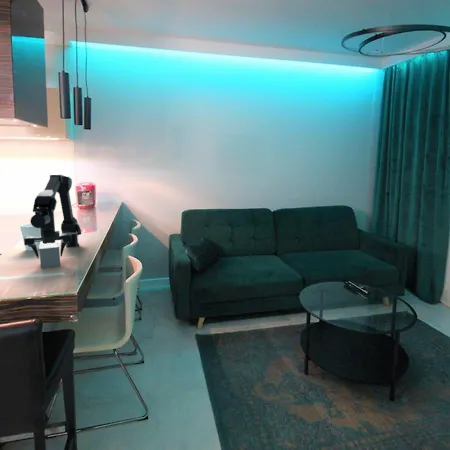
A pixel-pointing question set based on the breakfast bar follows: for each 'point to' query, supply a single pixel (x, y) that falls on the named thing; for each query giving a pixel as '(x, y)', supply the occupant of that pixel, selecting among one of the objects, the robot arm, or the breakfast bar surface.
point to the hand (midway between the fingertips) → (49, 257)
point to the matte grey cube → (49, 255)
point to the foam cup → (30, 234)
